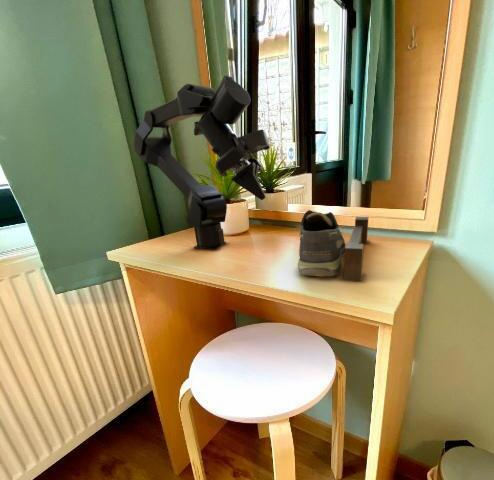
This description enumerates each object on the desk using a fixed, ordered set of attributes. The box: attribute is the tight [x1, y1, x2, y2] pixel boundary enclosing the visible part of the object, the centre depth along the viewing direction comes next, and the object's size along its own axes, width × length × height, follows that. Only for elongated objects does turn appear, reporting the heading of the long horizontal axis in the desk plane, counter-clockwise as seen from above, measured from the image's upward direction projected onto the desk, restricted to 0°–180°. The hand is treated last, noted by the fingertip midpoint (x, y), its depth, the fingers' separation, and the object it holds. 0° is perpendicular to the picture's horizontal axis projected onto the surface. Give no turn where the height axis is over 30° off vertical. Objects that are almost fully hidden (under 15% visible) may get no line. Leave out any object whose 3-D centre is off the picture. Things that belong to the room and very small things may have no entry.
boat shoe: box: [297, 209, 347, 277], centre depth 69 cm, size 11×29×11 cm, turn 175°
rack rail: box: [343, 216, 369, 282], centre depth 68 cm, size 3×28×6 cm, turn 164°
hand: (263, 198), depth 69 cm, fingers closed
